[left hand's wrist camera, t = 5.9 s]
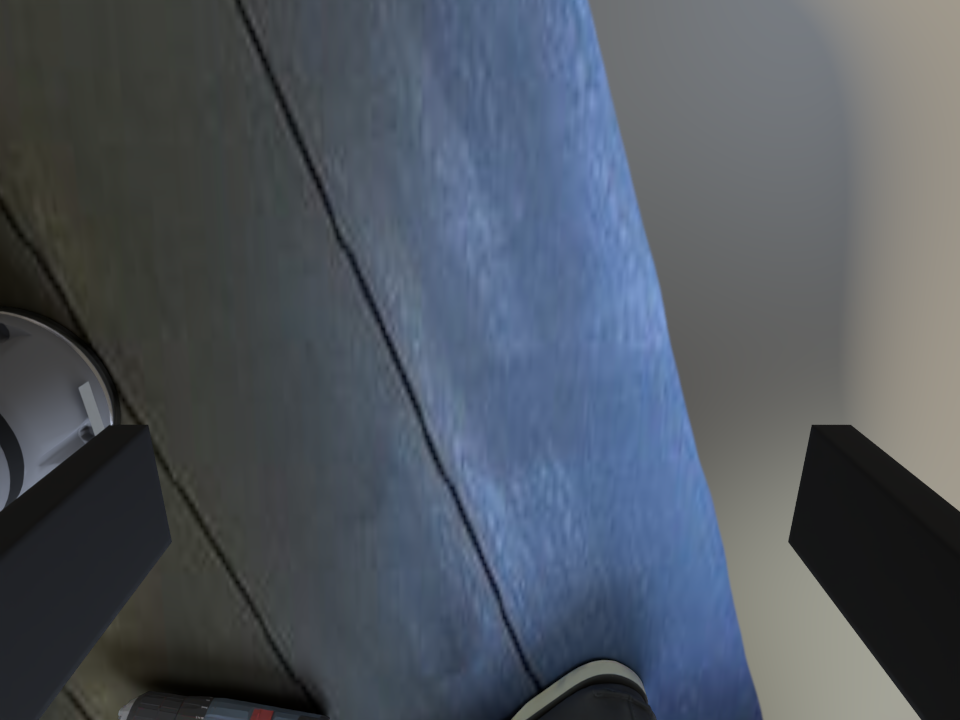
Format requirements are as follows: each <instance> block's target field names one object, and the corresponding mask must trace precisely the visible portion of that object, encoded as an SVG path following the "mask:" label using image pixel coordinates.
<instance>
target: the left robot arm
mask: <svg viewBox="0 0 960 720" xmlns="http://www.w3.org/2000/svg"><path fill="white" fill-rule="evenodd" d="M171 542H172V541H171V536H170V531H169V526H168V521H167V516H166V511H165V506H164V501H163V496H162V491H161V486H160V481H159V476H158V471H157V466H156V462H155V457H154V452H153V447H152V442H151V437H150V432H149V427H148V425H120V405H119V400H118V396H117V392H116V389H115V387H114V384H113V382H112V379H111V377H110V376H109V374H108V372H107V370H106V368H105V367H104V365H103V364H102V362H101V361H100V360H99V358H98V357H97V356H96V355H95V353H94V352H93V351H92V350H91V349H90V348H89V347H88V346H87V345H86V344H85V343H84V342H83V341H82V340H81V339H79V338H78V337H77V336H76V335H75V334H73V333H72V332H70V331H69V330H68V329H66V328H65V327H63V326H61V325H60V324H58V323H56V322H54V321H52V320H50V319H48V318H46V317H44V316H41V315H39V314H36V313H33V312H30V311H26V310H22V309H17V308H12V307H0V720H39V718H40V717H41V716H42V714H43V713H44V712H45V710H46V709H47V708H48V706H49V705H50V704H51V702H52V701H53V700H54V698H55V697H56V696H57V694H58V693H59V692H60V690H61V689H62V688H63V686H64V685H65V684H66V682H67V681H68V680H69V678H70V677H71V676H72V674H73V673H74V672H75V670H76V669H77V668H78V666H79V665H80V664H81V662H82V661H83V660H84V658H85V657H86V656H87V654H88V653H89V652H90V650H91V649H92V648H93V646H94V645H95V644H96V642H97V641H98V640H99V638H100V637H101V636H102V634H103V633H104V632H105V630H106V629H107V628H108V626H109V625H110V624H111V622H112V621H113V620H114V618H115V617H116V616H117V614H118V613H119V612H120V610H121V609H122V608H123V606H124V605H125V604H126V602H127V601H128V600H129V598H130V597H131V596H132V594H133V593H134V592H135V590H136V589H137V588H138V586H139V585H140V584H141V582H142V581H143V580H144V578H145V577H146V576H147V574H148V573H149V572H150V570H151V569H152V568H153V566H154V565H155V564H156V562H157V561H158V560H159V558H160V557H161V556H162V554H163V553H164V552H165V550H166V549H167V547H168V546H169V545H170V543H171ZM788 542H789V543H790V545H791V546H792V547H793V549H794V550H795V552H796V553H797V554H798V556H799V557H800V558H801V559H802V561H803V562H804V564H805V565H806V566H807V568H808V569H809V570H810V571H811V573H812V574H813V576H814V577H815V578H816V579H817V581H818V582H819V584H820V585H821V586H822V588H823V589H824V590H825V592H826V593H827V594H828V596H829V597H830V598H831V600H832V601H833V602H834V604H835V605H836V606H837V608H838V609H839V610H840V612H841V613H842V614H843V616H844V617H845V618H846V620H847V621H848V622H849V624H850V625H851V626H852V628H853V629H854V630H855V632H856V633H857V634H858V636H859V637H860V638H861V640H862V641H863V642H864V644H865V645H866V646H867V648H868V649H869V650H870V652H871V653H872V654H873V656H874V657H875V658H876V660H877V661H878V662H879V664H880V665H881V666H882V668H883V669H884V670H885V672H886V673H887V674H888V676H889V677H890V678H891V680H892V681H893V682H894V684H895V685H896V686H897V688H898V689H899V690H900V692H901V693H902V694H903V696H904V697H905V698H906V700H907V701H908V702H909V704H910V705H911V706H912V708H913V709H914V710H915V712H916V713H917V714H918V716H919V717H920V718H921V720H960V512H959V511H958V510H957V509H956V508H954V507H953V506H952V505H951V504H949V503H948V502H947V501H946V500H944V499H943V498H942V497H941V496H939V495H938V494H937V493H936V492H934V491H933V490H932V489H931V488H929V487H928V486H927V485H926V484H924V483H923V482H922V481H921V480H919V479H918V478H917V477H916V476H914V475H913V474H912V473H910V472H909V471H908V470H907V469H905V468H904V467H903V466H902V465H900V464H899V463H898V462H897V461H895V460H894V459H893V458H892V457H890V456H889V455H888V454H887V453H885V452H884V451H883V450H882V449H880V448H879V447H878V446H876V445H875V444H874V443H873V442H872V441H870V440H869V439H868V438H866V437H865V436H864V435H863V434H861V433H860V432H859V431H858V430H856V429H855V428H854V427H853V426H851V425H812V427H811V432H810V437H809V442H808V447H807V452H806V457H805V462H804V466H803V471H802V476H801V481H800V486H799V491H798V496H797V501H796V506H795V511H794V516H793V521H792V526H791V531H790V536H789V541H788Z"/></svg>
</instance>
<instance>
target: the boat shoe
mask: <svg viewBox="0 0 960 720" xmlns="http://www.w3.org/2000/svg"><path fill="white" fill-rule="evenodd" d="M512 720H656V717H655V715H654V713H653V712H652V710H651V707H650V706H649V705H648V699H647V696H646V693H645V690H644V686H643V684H642V681H641V680H640V678H639V677H638V676H637V675H636V674H635V672H633V671H632V670H631V669H630V668H628V667H626V666H625V665H622V664H620V663H618V662H616V661H610V660H600V661H594V662H590V663H587V664H585V665H583V666H580V667H578V668H576V669H575V670H573V671H572V672H570V673H569V674H567V675H566V676H564V677H563V678H561V679H560V680H558V681H557V682H555V683H554V684H553V685H551V686H550V687H549V688H547V689H546V690H544V691H543V692H542V693H540V694H539V695H537V696H536V697H534V698H533V699H532V700H530V701H529V702H528V703H526V704H525V705H524V706H523V708H522V709H521V710H520V711H519V712H518V713H517V714H516V715H515V716H514V717H513V718H512Z"/></svg>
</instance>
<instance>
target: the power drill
mask: <svg viewBox="0 0 960 720" xmlns="http://www.w3.org/2000/svg"><path fill="white" fill-rule="evenodd" d="M118 715H120V717H119V719H120V720H330V718H329V717H327V716H325V715H319V714H312V713H306V712H301V711H295V710H290V709H284V708H279V707H273V706H267V705H262V704H256V703H250V702H245V701H239V700H234V699H228V698H213V697H206V696H182V695H177V694H171V693H163V692H155V691H148V692H146V693H144V694H142V695H140V696H139V697H137V698H135V699H132V700H130V701H129V702H128V704H127V705H124V708H121V709H120V711H119V714H118Z"/></svg>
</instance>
